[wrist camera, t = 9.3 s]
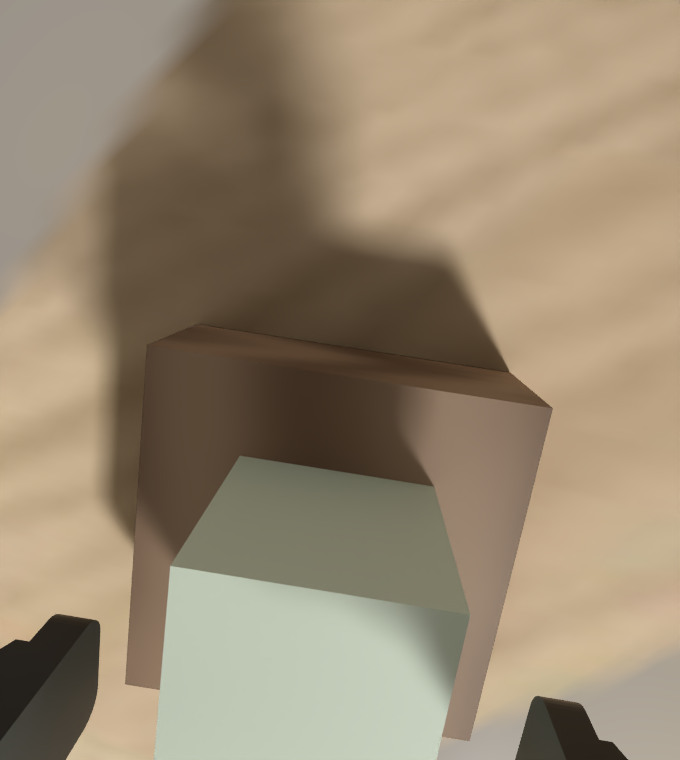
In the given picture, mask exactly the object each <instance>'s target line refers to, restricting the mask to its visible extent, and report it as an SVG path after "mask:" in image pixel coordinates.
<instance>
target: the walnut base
mask: <svg viewBox="0 0 680 760" xmlns="http://www.w3.org/2000/svg"><path fill="white" fill-rule="evenodd" d="M552 409H553V408H552V407H550V406H549V405H548V404H547V403H546V402H545V401H543V400H542V399H541V398H540V397H539V396H537V395H536V394H535V393H534V392H533V391H531V390H530V389H529V388H528V387H527V386H526V385H524V384H523V383H522V382H521V381H520V380H518V379H517V378H516V377H515V376H514V375H512V374H511V373H508V372H502V371H495V370H489V369H483V368H476V367H470V366H463V365H457V364H450V363H444V362H437V361H431V360H424V359H418V358H411V357H405V356H398V355H392V354H386V353H379V352H373V351H366V350H360V349H353V348H347V347H340V346H334V345H327V344H321V343H314V342H308V341H301V340H295V339H289V338H282V337H276V336H269V335H263V334H256V333H250V332H243V331H237V330H230V329H224V328H217V327H211V326H204V325H198V324H197V325H194V326H192V327H190V328H187V329H185V330H182V331H180V332H178V333H175V334H173V335H171V336H168V337H166V338H163V339H161V340H159V341H156V342H154V343H151V344H149V345H147V353H146V369H145V384H144V400H143V416H142V431H141V447H140V462H139V478H138V493H137V509H136V524H135V540H134V556H133V571H132V587H131V602H130V618H129V633H128V649H127V664H126V680H125V684H127V685H133V686H139V687H145V688H151V689H157V690H160V682H161V670H162V658H163V647H164V635H165V623H166V611H167V599H168V587H169V575H170V566H171V564H172V562H173V561H174V559H175V558H176V556H177V554H178V553H179V551H180V550H181V548H182V547H183V545H184V543H185V542H186V540H187V539H188V537H189V536H190V534H191V532H192V531H193V529H194V528H195V526H196V524H197V523H198V521H199V520H200V518H201V517H202V515H203V513H204V512H205V510H206V509H207V507H208V505H209V504H210V502H211V501H212V499H213V498H214V496H215V494H216V493H217V491H218V490H219V488H220V487H221V485H222V483H223V482H224V480H225V479H226V477H227V475H228V474H229V472H230V471H231V469H232V468H233V466H234V464H235V463H236V461H237V460H238V458H239V456H245V457H252V458H258V459H264V460H270V461H277V462H283V463H289V464H295V465H302V466H308V467H314V468H320V469H327V470H333V471H339V472H346V473H352V474H358V475H364V476H371V477H377V478H383V479H389V480H396V481H402V482H408V483H415V484H421V485H427V486H433V487H434V488H435V491H436V495H437V498H438V502H439V505H440V509H441V512H442V516H443V519H444V523H445V526H446V530H447V534H448V537H449V541H450V544H451V548H452V551H453V555H454V558H455V562H456V565H457V569H458V572H459V576H460V580H461V583H462V587H463V590H464V594H465V597H466V601H467V604H468V608H469V611H470V619H469V623H468V627H467V632H466V636H465V640H464V644H463V648H462V653H461V657H460V661H459V665H458V670H457V674H456V678H455V682H454V687H453V691H452V695H451V699H450V703H449V708H448V712H447V716H446V720H445V725H444V729H443V733H442V737H448V738H454V739H460V740H466V741H469V740H470V737H471V733H472V729H473V725H474V721H475V717H476V713H477V709H478V705H479V701H480V697H481V693H482V689H483V685H484V681H485V677H486V673H487V669H488V665H489V661H490V657H491V653H492V649H493V645H494V641H495V637H496V633H497V629H498V625H499V621H500V617H501V613H502V609H503V605H504V601H505V597H506V593H507V589H508V585H509V581H510V577H511V573H512V569H513V565H514V561H515V557H516V553H517V549H518V545H519V541H520V537H521V533H522V529H523V525H524V521H525V517H526V513H527V509H528V505H529V501H530V497H531V493H532V489H533V485H534V481H535V477H536V473H537V469H538V465H539V461H540V457H541V453H542V449H543V445H544V441H545V437H546V433H547V429H548V425H549V421H550V417H551V413H552Z"/></svg>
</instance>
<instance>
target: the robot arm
mask: <svg viewBox="0 0 680 760" xmlns="http://www.w3.org/2000/svg"><path fill="white" fill-rule="evenodd" d="M99 647H100V624H99V622H98V621H97V620H91V619H85V618H79V617H73V616H67V615H62V614H56V615H54V616H52V617H51V618H50V619H49V620H48V621H47V622H46V623H45V625H44V626H43V627H42V628H41V629H40V630H39V631H38V633H37V634H36V635H35V636H34V637H33V638H32V639H31V641H30V642H28V641H22V640H14V641H13V642H11V643H9V644H8V645H6V646H4V647H3V648H1V649H0V760H66V758H67V756H68V755H69V753H70V752H71V750H72V748H73V747H74V745H75V743H76V742H77V740H78V738H79V737H80V735H81V733H82V732H83V730H84V728H85V726H86V724H87V722H88V720H89V718H90V715H91V713H92V710H93V707H94V704H95V700H96V695H97V689H98V669H99ZM515 760H628V759H627V758H626V757H625V756H624V755H623V754H622V752H621V751H620V750H619V749H618V748H617V747H616V746H615V744H614V743H613V742H608V741H602V740H599V739H598V737H597V735H596V733H595V730H594V728H593V726H592V724H591V722H590V719H589V717H588V715H587V713H586V711H585V709H584V708H583V706H582V705H581V704H579V703H576V702H570V701H564V700H558V699H552V698H546V697H540V696H536V697H534V699H533V700H532V702H531V705H530V709H529V712H528V716H527V720H526V723H525V727H524V730H523V734H522V737H521V741H520V745H519V748H518V752H517V755H516V759H515Z"/></svg>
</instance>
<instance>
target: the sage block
mask: <svg viewBox="0 0 680 760" xmlns="http://www.w3.org/2000/svg"><path fill="white" fill-rule="evenodd" d="M469 619H470V611H469V608H468V604H467V601H466V597H465V594H464V590H463V587H462V583H461V580H460V576H459V572H458V569H457V565H456V562H455V558H454V555H453V551H452V548H451V544H450V541H449V537H448V534H447V530H446V526H445V523H444V519H443V516H442V512H441V509H440V505H439V502H438V498H437V495H436V491H435V488H434V487H433V486H427V485H421V484H415V483H408V482H402V481H396V480H389V479H383V478H377V477H371V476H364V475H358V474H352V473H346V472H339V471H333V470H327V469H320V468H314V467H308V466H302V465H295V464H289V463H283V462H277V461H270V460H264V459H258V458H252V457H245V456H239V458H238V460H237V461H236V463H235V464H234V466H233V468H232V469H231V471H230V472H229V474H228V475H227V477H226V479H225V480H224V482H223V483H222V485H221V487H220V488H219V490H218V491H217V493H216V494H215V496H214V498H213V499H212V501H211V502H210V504H209V505H208V507H207V509H206V510H205V512H204V513H203V515H202V517H201V518H200V520H199V521H198V523H197V524H196V526H195V528H194V529H193V531H192V532H191V534H190V536H189V537H188V539H187V540H186V542H185V543H184V545H183V547H182V548H181V550H180V551H179V553H178V554H177V556H176V558H175V559H174V561H173V562H172V564H171V566H170V575H169V587H168V599H167V611H166V623H165V635H164V647H163V658H162V670H161V682H160V694H159V706H158V718H157V730H156V742H155V753H154V760H436V758H437V754H438V750H439V746H440V741H441V737H442V733H443V729H444V725H445V720H446V716H447V712H448V708H449V703H450V699H451V695H452V691H453V687H454V682H455V678H456V674H457V670H458V665H459V661H460V657H461V653H462V648H463V644H464V640H465V636H466V632H467V627H468V623H469Z"/></svg>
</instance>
